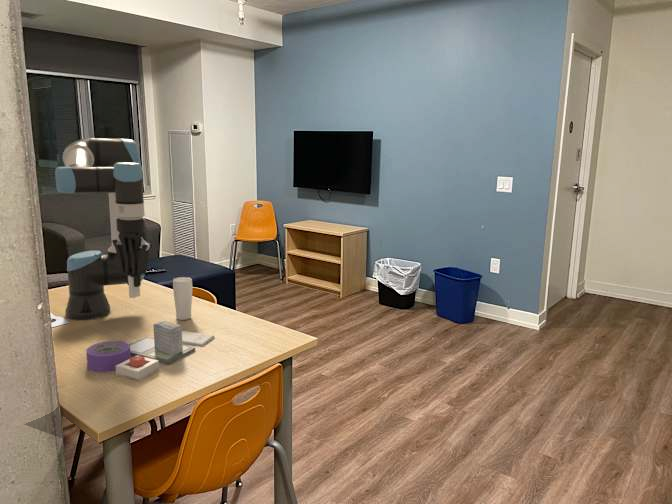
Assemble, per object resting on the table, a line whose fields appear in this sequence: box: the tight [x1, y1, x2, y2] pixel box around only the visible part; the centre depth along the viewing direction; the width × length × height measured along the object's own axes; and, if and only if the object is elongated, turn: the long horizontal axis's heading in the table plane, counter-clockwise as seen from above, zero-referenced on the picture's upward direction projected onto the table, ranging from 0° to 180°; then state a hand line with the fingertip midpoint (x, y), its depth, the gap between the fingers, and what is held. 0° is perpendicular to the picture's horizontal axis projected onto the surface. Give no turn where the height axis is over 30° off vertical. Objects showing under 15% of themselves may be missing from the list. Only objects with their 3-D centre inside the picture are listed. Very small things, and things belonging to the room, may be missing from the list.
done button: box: [130, 356, 145, 368], centre depth 143 cm, size 4×4×3 cm
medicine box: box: [153, 320, 184, 356], centre depth 156 cm, size 8×4×9 cm, turn 59°
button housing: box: [115, 355, 160, 382], centre depth 144 cm, size 8×8×3 cm
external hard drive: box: [182, 330, 215, 347], centre depth 169 cm, size 2×8×12 cm
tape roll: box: [86, 340, 132, 373], centre depth 149 cm, size 12×12×5 cm
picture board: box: [128, 336, 196, 366], centre depth 159 cm, size 20×12×1 cm, turn 66°
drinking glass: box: [172, 276, 193, 321], centre depth 187 cm, size 7×7×15 cm
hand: (134, 296), depth 149 cm, fingers closed
